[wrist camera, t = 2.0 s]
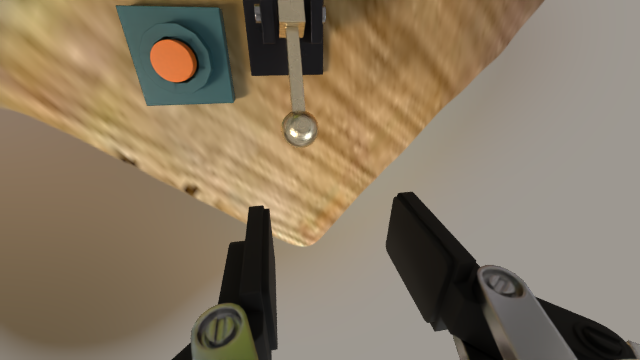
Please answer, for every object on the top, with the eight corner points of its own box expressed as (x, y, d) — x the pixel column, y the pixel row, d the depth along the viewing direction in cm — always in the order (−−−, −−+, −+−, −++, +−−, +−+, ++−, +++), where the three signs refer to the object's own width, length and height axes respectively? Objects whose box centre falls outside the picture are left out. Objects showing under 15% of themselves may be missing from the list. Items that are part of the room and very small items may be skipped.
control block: (153, 101, 33) (140, 109, 30) (125, 7, 28) (105, 3, 25) (235, 99, 34) (231, 106, 31) (221, 9, 30) (215, 5, 26)
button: (162, 80, 29) (156, 82, 27) (151, 39, 27) (144, 39, 25) (200, 79, 29) (196, 82, 28) (192, 39, 28) (187, 39, 26)
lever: (317, 149, 24) (322, 143, 21) (282, 151, 24) (282, 146, 21) (305, 10, 24) (309, -16, 21) (271, 10, 24) (269, -17, 21)
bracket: (321, 73, 35) (343, 88, 25) (252, 74, 33) (244, 91, 23) (321, -43, 29) (350, -86, 19) (238, -47, 28) (220, -96, 17)
